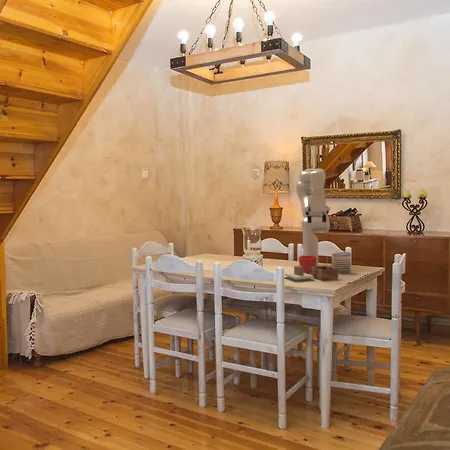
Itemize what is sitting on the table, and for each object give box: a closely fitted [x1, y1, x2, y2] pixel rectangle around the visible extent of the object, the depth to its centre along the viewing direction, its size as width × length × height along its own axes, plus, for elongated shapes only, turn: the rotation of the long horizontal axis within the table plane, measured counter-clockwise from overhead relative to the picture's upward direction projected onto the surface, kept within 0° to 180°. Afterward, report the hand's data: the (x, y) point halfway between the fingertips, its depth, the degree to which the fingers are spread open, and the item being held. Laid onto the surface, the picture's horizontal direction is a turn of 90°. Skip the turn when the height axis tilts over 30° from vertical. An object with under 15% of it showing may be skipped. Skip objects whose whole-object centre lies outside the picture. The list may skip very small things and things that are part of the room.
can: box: [331, 251, 352, 275], centre depth 307 cm, size 11×11×12 cm
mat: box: [284, 276, 316, 283], centre depth 288 cm, size 14×12×1 cm
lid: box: [284, 265, 314, 281], centre depth 288 cm, size 13×11×7 cm
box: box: [310, 265, 339, 282], centre depth 289 cm, size 12×10×6 cm
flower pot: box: [297, 255, 317, 275], centre depth 308 cm, size 11×11×10 cm
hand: (316, 222), depth 300 cm, fingers open, 9 cm apart
